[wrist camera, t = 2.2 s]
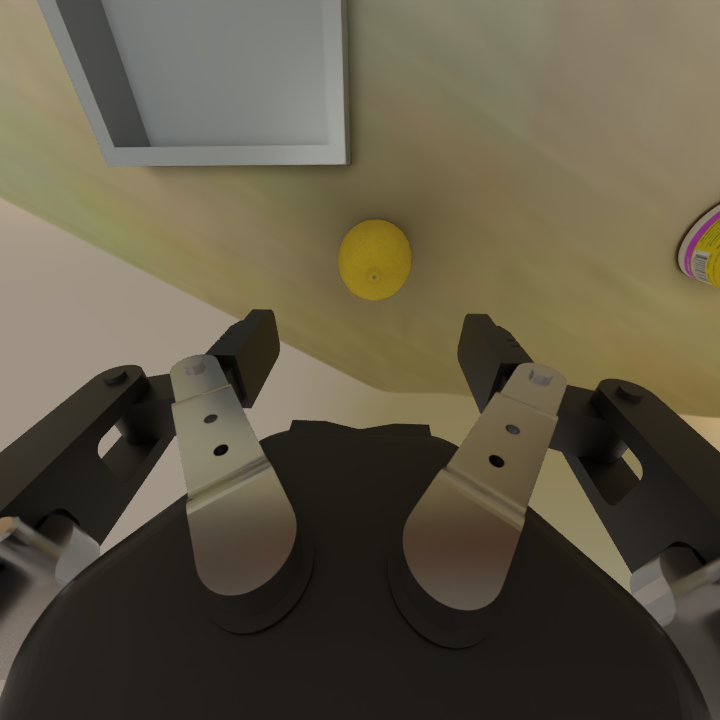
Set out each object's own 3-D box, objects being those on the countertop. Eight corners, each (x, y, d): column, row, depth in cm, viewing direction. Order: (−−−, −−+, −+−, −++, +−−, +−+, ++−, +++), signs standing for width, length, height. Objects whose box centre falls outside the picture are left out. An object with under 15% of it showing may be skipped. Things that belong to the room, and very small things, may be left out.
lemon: (373, 290, 27) (371, 331, 20) (330, 246, 25) (313, 275, 18) (420, 249, 24) (435, 279, 18) (377, 196, 22) (376, 208, 16)
